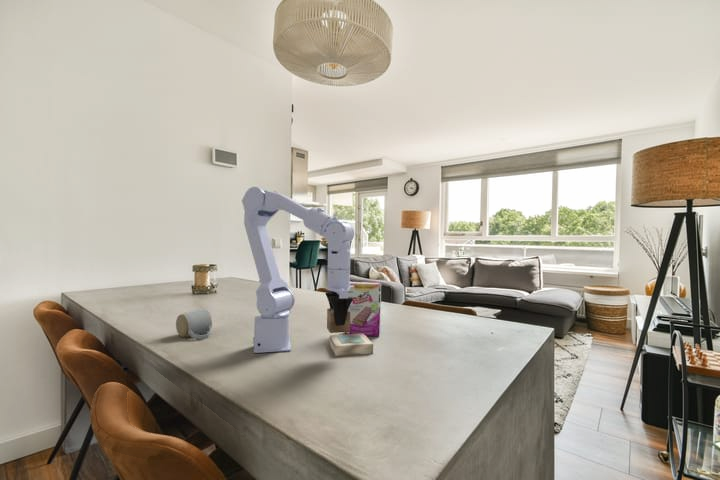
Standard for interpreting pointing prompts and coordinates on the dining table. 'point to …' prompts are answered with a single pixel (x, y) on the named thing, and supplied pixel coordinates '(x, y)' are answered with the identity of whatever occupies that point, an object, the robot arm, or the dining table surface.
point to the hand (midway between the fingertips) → (338, 322)
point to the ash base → (350, 344)
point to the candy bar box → (365, 308)
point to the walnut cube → (332, 325)
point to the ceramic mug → (194, 324)
